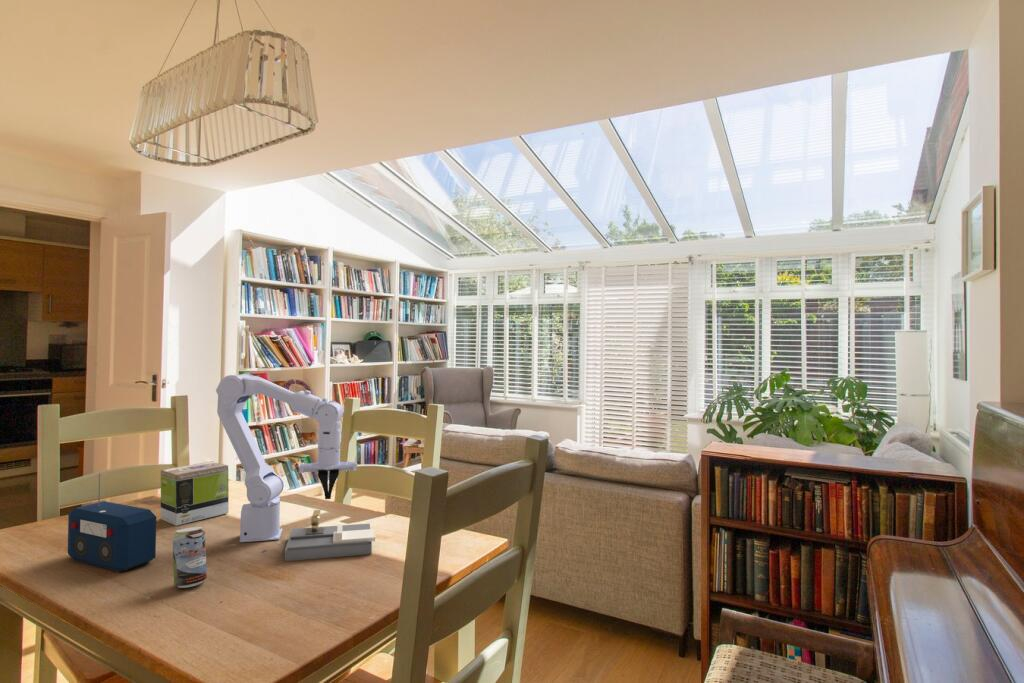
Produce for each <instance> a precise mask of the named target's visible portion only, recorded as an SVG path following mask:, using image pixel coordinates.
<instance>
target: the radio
mask: <svg viewBox="0 0 1024 683" xmlns="http://www.w3.org/2000/svg"><path fill="white" fill-rule="evenodd" d="M100 495H101V473H98V496H97V497H98V498H97V499H98V502H94V503H91V504H87V505H82V506H78V507H75V508H73V509H71V511H69V512H68V513H67V514H68V516H67V518H68V523H67V530H68V531H67V554H68V556H69V557H70V558H71V559H72V560H73V561H75V562H79V563H84V564H88V565H91V566H95V567H98V568H103V569H107V570H110V571H114V572H117V573H122V572H125V571H128V570H130V569H133V568H136V567H138V566H142V565H144V564H147V563H149V562H151V561H153V560H154V559H156V556H157V555H156V554H157V553H156V550H157V549H156V546H157V544H156V543H157V516H156V515H155V513H154V512H153V511H152V510H151V509H148V508H144V507H137V506H131V505H127V504H121V503H116V502H111V501H106V500H105V501H104V500H103V501H100V500H101V496H100Z"/></svg>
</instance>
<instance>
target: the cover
mask: <svg viewBox="0 0 1024 683" xmlns="http://www.w3.org/2000/svg"><path fill="white" fill-rule="evenodd" d="M343 525H344V524H343ZM343 525H337V526H338V527H337V532H334V535H333V544H337V543H350V542H363V541H370V542H375V541H376V534H375V528H370V529H367V530H353V531H342V527H343Z"/></svg>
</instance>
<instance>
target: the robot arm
mask: <svg viewBox="0 0 1024 683" xmlns="http://www.w3.org/2000/svg"><path fill="white" fill-rule="evenodd" d="M215 391H216V394H217V409H216V410H217V411H216V412H217V416H218V418H219V420H220V422H221V424H222V426H223V428H224V430H225V433H226V434H227V436H228V439H229V441H230V443H231V445H232V447H233V449H234V451H235V454H236V455H237V458H238V459H239V462H240V465H241V466H242V467H243V468H242V469H243V470H244V472H245V478H244V485H245V487H246V497H247V500H248V502H249V503H244V504H243V505H242V506H241V510H240V525H239V526H240V527H239V528H240V530H239V532H240V533H239V535H240V536H239V543H250V542H262V541H263V542H264V541H265V542H267V541H278V540H280V539H281V535H282V533H283V528H282V527H280V523H281V522H280V520H281V516H280V514H281V512H280V510H281V498H280V495H281V493H282V492H283V490H284V487H285V484H284V480H283V479H282V477H281V476H280V475H278V474H277V472H276V471H275V469H274V468H273V467H272V466H270V465H269V464H268V463H266V462H267V461H266V460H265V458H264V456H263V454H262V452H261V450H260V447H259V445H258V443H257V442H256V440H255V438H254V435H253V433H252V431H251V428H250V427H249V425H248V422H247V420H246V418H245V417H244V414H243V409H244V407H245V405H246V403H247V401H248V400H249V399H250V398H251V397H252V396H255V395H263V396H264V397H268V398H272V399H274V400H277V401H280V402H282V403H285V404H288V405H289V406H290V408H291V411H293V412H295V413H298V414H300V415H303V416H306V417H308V418H311V419H313V420H316V422H317V423H318V431H317V433H318V436H317V462H309V463H300V464H299V473H300V474H303V473H310V472H311V473H312V472H314V473H316V472H317V477H318V479H319V481H320V483H321V487H322V488H323V489H322V490H323V493H324V499H325V500H331V499H332V492H333V488H334V486H335V484H336V481H337V480H338V477H339V476H340V472H341V471H353V472H355V471H357V470H358V467H357V466H358V462H356V461H341V438H342V437H341V431H342V430H341V422H342V421H341V419H342V417H343V416H344V408H343V406H342V404H340V403H339V402H337V401H336V400H330V401H328V398H327V397H323V398H322V397H319V396H317V395H314V394H312V392H311V390H308V389H306V390H299V391H297V392H294V391H292V390H289V389H287V388H285V387H283V386H281V385H278V384H276V383H274V382H272V381H269V380H267V379H265V378H263V377H261V376H256V375H253V374H251V373H240V374H229V375H226V376H224V377H222V379H221V380H220V382H219V383H218V385H217V387H216V389H215Z"/></svg>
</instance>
